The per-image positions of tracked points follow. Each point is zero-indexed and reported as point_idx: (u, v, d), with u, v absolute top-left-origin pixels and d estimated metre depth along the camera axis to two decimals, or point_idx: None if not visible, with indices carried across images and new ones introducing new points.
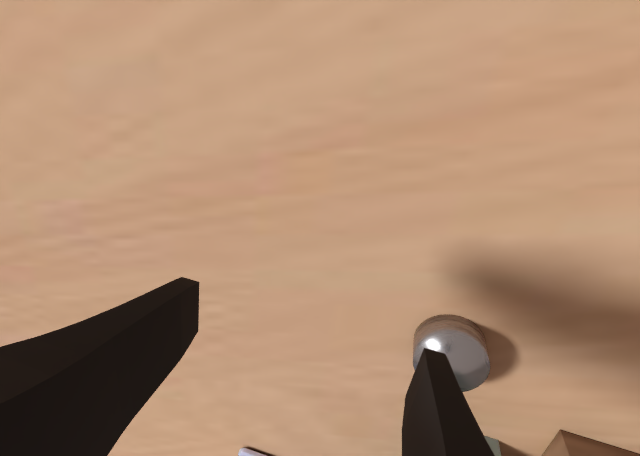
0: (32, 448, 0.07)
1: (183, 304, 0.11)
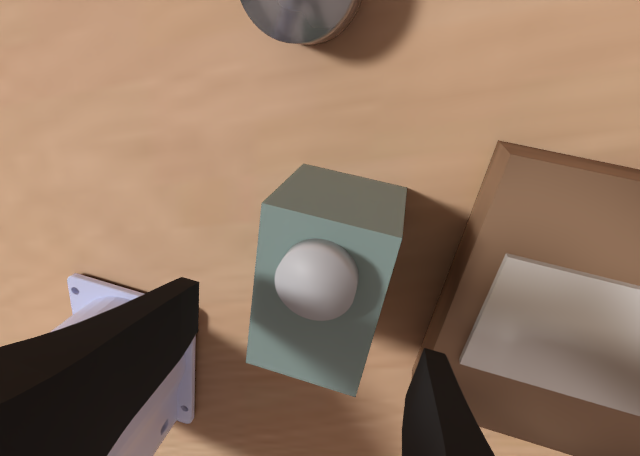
0: (32, 448, 0.07)
1: (183, 304, 0.11)
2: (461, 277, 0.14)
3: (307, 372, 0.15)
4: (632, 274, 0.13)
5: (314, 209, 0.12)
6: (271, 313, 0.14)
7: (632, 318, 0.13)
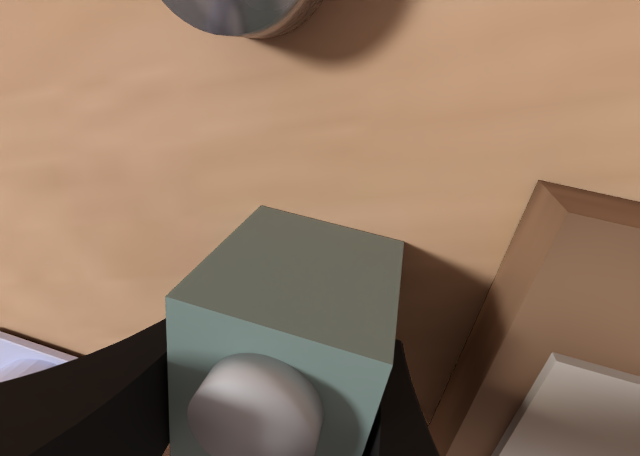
0: None
1: None
2: (483, 378, 0.10)
3: None
4: None
5: (252, 305, 0.08)
6: (198, 444, 0.09)
7: None
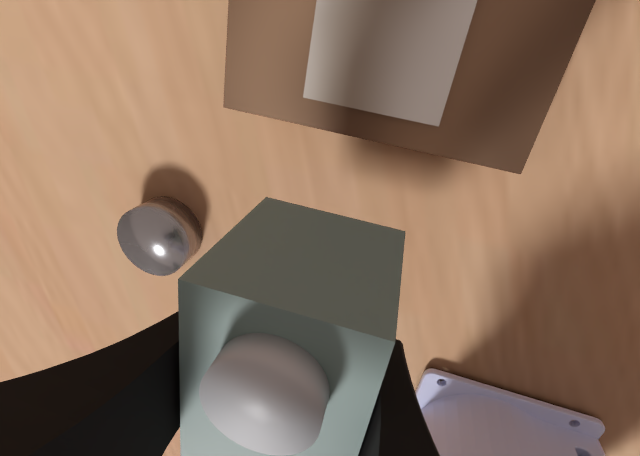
0: None
1: None
2: (336, 132, 0.15)
3: None
4: None
5: (260, 287, 0.08)
6: (208, 424, 0.10)
7: None
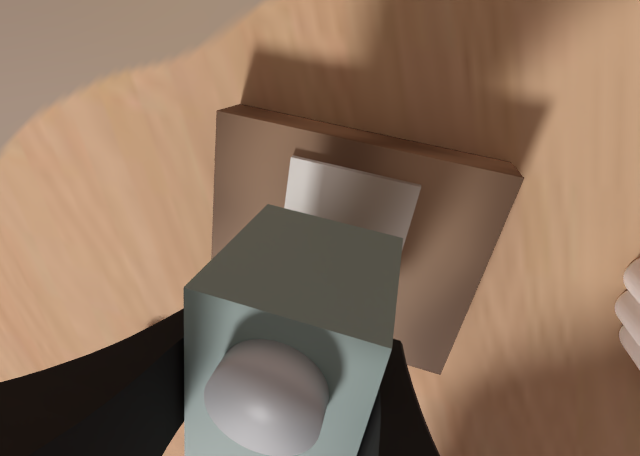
0: None
1: None
2: None
3: None
4: None
5: (263, 296, 0.08)
6: (211, 426, 0.10)
7: None
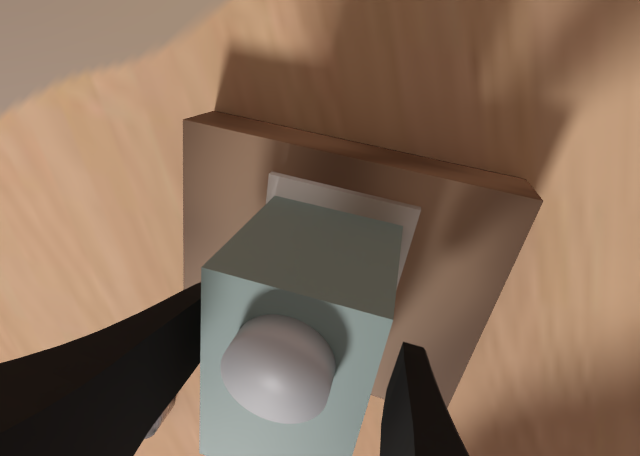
0: None
1: None
2: None
3: None
4: None
5: (274, 274, 0.09)
6: (225, 400, 0.11)
7: None
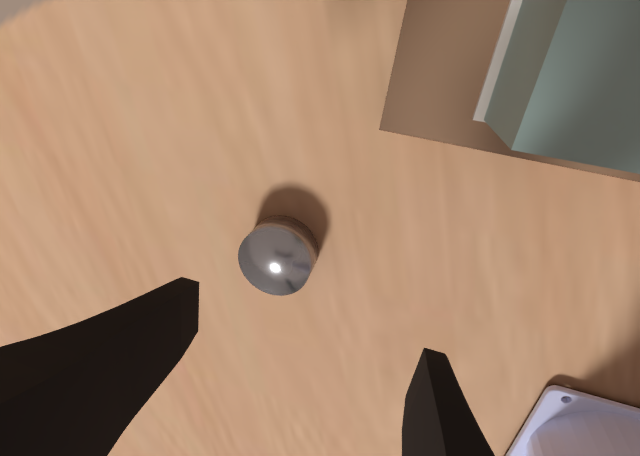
0: (32, 448, 0.07)
1: (183, 304, 0.11)
2: (500, 153, 0.15)
3: (625, 149, 0.09)
4: None
5: None
6: (592, 35, 0.09)
7: None
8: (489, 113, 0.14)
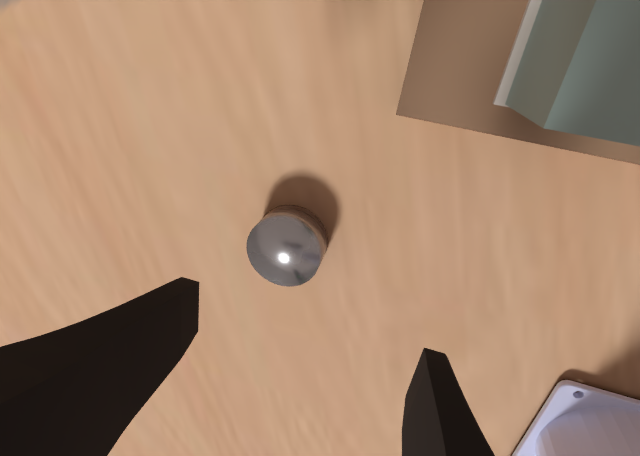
0: (32, 448, 0.07)
1: (183, 304, 0.11)
2: (520, 139, 0.15)
3: None
4: None
5: None
6: (634, 5, 0.08)
7: None
8: (512, 96, 0.13)
